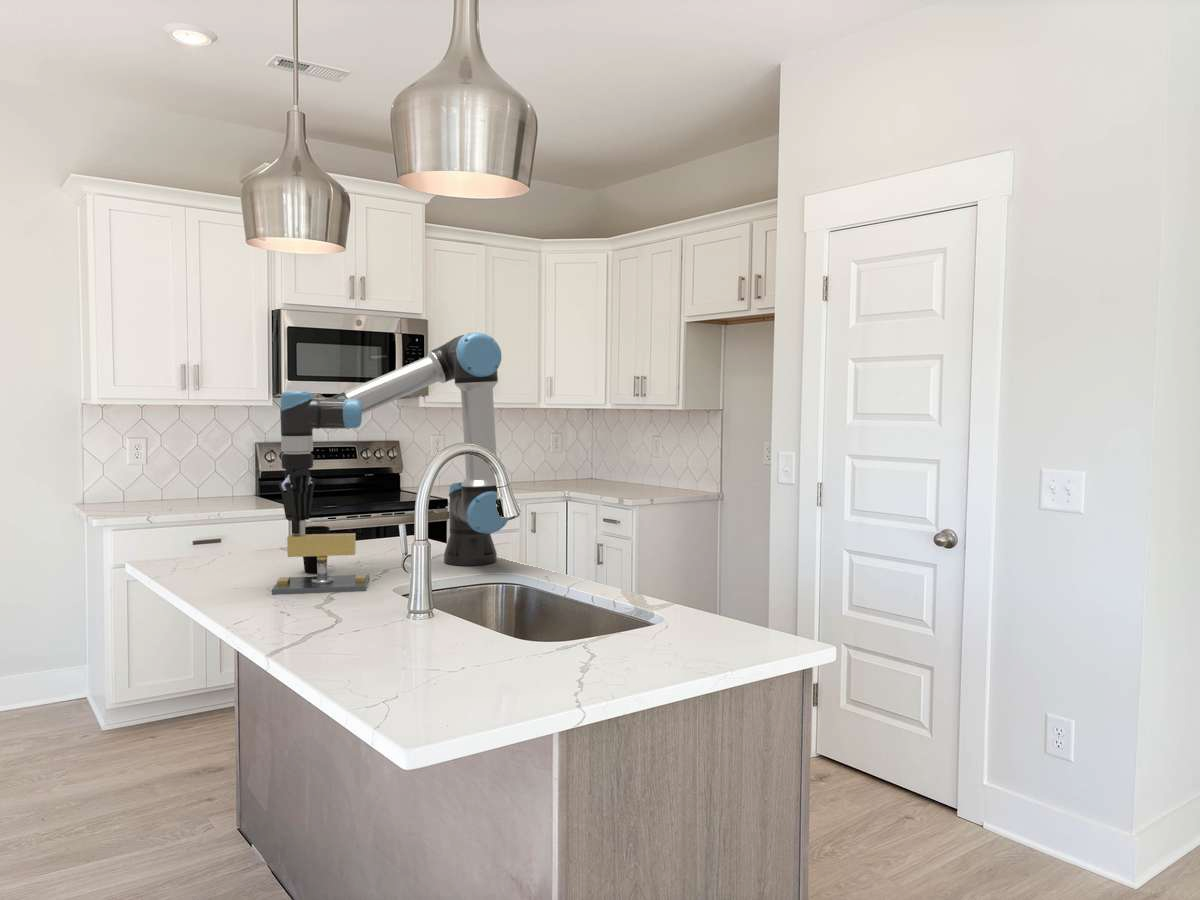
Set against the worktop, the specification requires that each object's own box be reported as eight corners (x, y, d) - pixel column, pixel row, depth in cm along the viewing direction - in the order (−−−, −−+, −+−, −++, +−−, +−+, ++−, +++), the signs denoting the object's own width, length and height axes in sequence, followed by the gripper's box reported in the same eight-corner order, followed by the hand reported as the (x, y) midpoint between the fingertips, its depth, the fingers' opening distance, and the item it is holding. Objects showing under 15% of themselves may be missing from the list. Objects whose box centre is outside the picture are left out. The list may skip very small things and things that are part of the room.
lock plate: (369, 578, 230) (369, 556, 230) (365, 590, 216) (365, 566, 216) (281, 582, 226) (280, 559, 225) (271, 594, 212) (271, 569, 212)
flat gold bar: (289, 561, 221) (289, 534, 220) (355, 558, 224) (355, 533, 223) (287, 563, 217) (287, 537, 217) (354, 561, 220) (354, 535, 220)
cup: (324, 574, 235) (324, 530, 234) (296, 574, 235) (295, 530, 234) (334, 569, 243) (333, 526, 242) (306, 569, 243) (305, 525, 242)
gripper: (298, 450, 228) (300, 541, 229) (268, 454, 215) (270, 549, 217) (324, 451, 226) (326, 542, 227) (295, 454, 213) (297, 551, 215)
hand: (298, 545), depth 222 cm, fingers closed
